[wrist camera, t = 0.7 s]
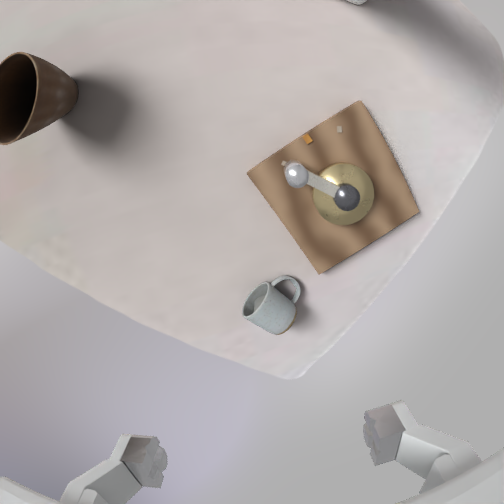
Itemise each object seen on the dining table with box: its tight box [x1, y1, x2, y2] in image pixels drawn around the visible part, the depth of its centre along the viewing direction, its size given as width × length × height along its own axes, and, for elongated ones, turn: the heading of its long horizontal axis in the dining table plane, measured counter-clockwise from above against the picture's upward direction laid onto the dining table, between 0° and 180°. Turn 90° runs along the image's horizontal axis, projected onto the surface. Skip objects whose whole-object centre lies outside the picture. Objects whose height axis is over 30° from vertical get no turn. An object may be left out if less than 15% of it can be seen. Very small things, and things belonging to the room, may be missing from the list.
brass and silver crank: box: [284, 160, 374, 225], centre depth 41 cm, size 10×16×8 cm, turn 66°
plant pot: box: [0, 52, 78, 145], centre depth 34 cm, size 15×15×16 cm
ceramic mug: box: [242, 275, 301, 335], centre depth 54 cm, size 11×8×8 cm
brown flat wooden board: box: [247, 101, 419, 274], centre depth 46 cm, size 22×22×2 cm
